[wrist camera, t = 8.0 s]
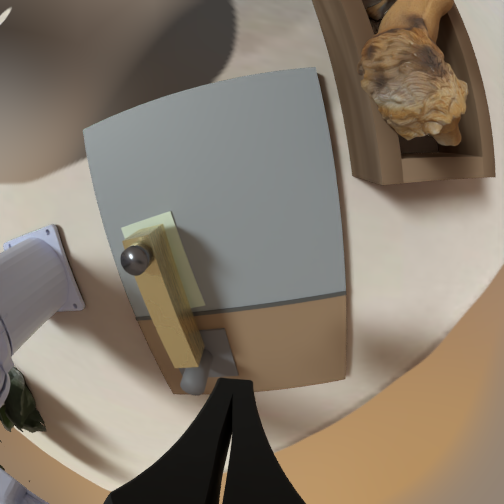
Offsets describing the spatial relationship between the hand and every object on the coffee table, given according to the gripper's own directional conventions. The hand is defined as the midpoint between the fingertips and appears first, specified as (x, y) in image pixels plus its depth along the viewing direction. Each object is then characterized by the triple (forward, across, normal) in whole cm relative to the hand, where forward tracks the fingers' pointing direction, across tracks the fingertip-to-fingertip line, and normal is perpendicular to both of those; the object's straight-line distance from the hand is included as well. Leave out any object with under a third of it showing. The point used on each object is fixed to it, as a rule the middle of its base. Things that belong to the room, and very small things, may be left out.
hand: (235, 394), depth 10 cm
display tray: (+10, -8, -17) cm, 21 cm away
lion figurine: (+10, -8, -17) cm, 21 cm away
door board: (+10, +2, -1) cm, 10 cm away
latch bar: (+8, +5, 0) cm, 10 cm away
